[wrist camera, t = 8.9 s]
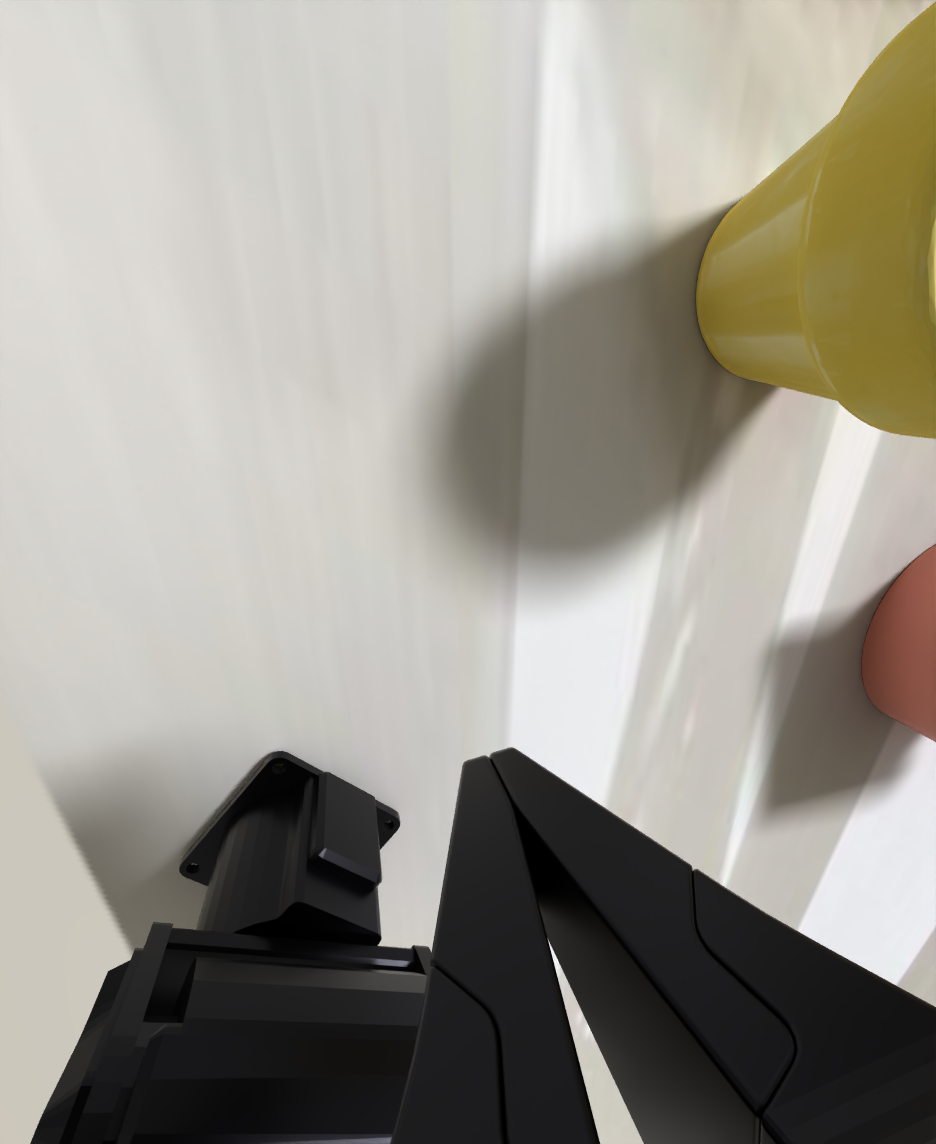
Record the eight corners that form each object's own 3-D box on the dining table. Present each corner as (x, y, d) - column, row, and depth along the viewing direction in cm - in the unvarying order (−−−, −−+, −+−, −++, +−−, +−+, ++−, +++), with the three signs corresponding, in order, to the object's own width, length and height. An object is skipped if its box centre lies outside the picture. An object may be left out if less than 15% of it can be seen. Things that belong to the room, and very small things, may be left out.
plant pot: (733, 484, 22) (1017, 536, 13) (593, 273, 18) (856, 128, 9) (916, 307, 21) (1348, 228, 12) (813, 52, 17) (1331, -344, 8)
